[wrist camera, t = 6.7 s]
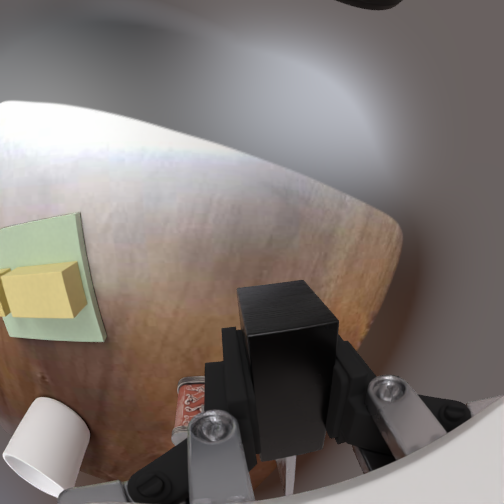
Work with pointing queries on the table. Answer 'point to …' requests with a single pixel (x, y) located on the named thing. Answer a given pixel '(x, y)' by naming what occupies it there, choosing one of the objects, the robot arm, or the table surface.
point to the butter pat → (3, 296)
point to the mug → (48, 446)
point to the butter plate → (48, 252)
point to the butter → (45, 291)
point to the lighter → (188, 405)
